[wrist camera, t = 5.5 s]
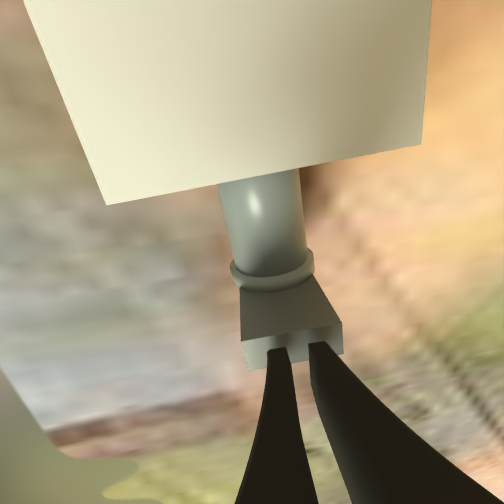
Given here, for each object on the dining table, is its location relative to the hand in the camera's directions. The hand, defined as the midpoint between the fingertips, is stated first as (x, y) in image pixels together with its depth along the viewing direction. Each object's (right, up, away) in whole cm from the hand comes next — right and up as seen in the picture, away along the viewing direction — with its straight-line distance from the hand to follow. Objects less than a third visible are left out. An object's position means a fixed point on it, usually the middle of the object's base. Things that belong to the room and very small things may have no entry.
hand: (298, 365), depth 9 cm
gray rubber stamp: (-1, +8, +6) cm, 10 cm away
